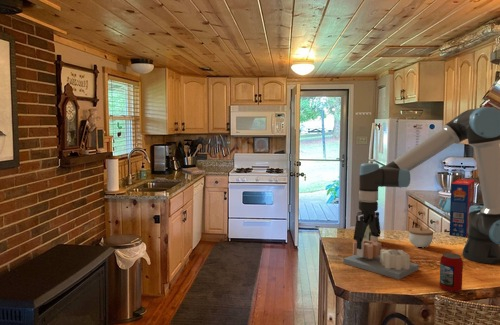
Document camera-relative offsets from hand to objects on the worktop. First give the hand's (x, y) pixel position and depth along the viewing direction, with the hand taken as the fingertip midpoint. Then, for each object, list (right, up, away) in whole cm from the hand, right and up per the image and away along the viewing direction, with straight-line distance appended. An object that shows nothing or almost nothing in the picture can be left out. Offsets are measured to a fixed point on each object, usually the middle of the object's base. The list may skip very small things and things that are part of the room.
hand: (366, 253), depth 157 cm
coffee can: (+10, -2, +34) cm, 35 cm away
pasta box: (+70, -1, +54) cm, 88 cm away
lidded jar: (+33, -3, +25) cm, 41 cm away
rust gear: (0, 0, 0) cm, 0 cm away
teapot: (+95, +3, +110) cm, 145 cm away
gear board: (+4, -4, -4) cm, 7 cm away
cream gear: (+8, -2, -9) cm, 12 cm away
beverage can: (+20, -6, -27) cm, 34 cm away
